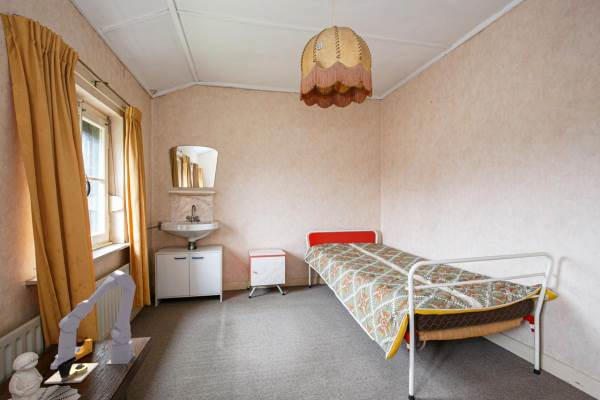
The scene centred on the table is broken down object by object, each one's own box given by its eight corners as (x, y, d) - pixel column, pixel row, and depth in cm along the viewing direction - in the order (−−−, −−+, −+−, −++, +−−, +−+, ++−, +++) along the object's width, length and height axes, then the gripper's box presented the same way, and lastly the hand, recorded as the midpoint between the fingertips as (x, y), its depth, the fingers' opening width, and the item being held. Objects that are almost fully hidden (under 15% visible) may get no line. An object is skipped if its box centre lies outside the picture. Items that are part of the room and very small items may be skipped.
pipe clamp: (84, 350, 140) (85, 338, 141) (91, 351, 140) (92, 339, 140) (61, 363, 128) (62, 350, 129) (69, 364, 128) (70, 351, 128)
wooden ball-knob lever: (79, 366, 124) (79, 363, 124) (90, 367, 124) (90, 364, 124) (55, 382, 113) (56, 378, 113) (68, 383, 113) (68, 379, 113)
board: (98, 364, 128) (99, 356, 129) (80, 382, 116) (81, 373, 116) (66, 366, 126) (67, 357, 127) (44, 383, 114) (45, 374, 114)
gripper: (69, 337, 124) (66, 367, 123) (43, 353, 109) (40, 387, 109) (85, 337, 124) (83, 366, 124) (62, 353, 110) (59, 387, 110)
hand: (64, 376), depth 116 cm, fingers closed, pressing on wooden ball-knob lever
